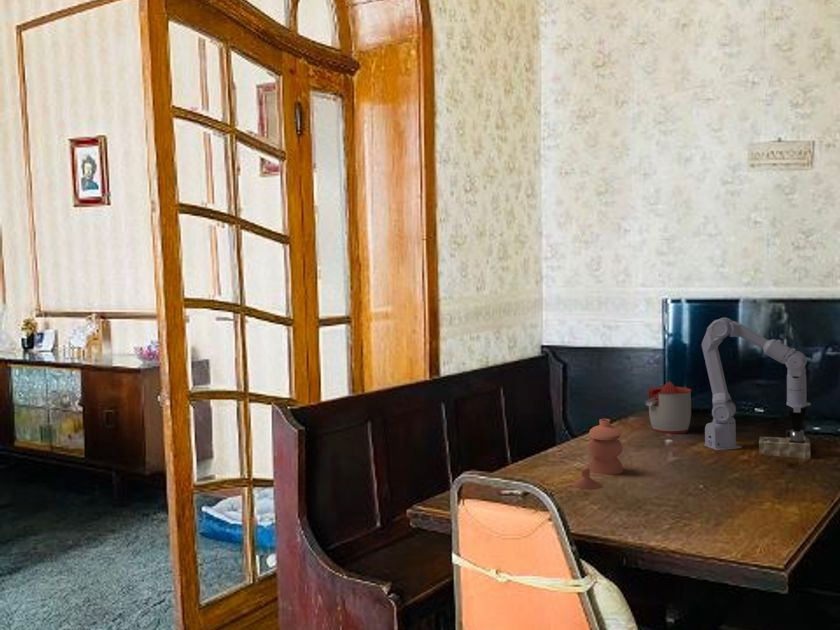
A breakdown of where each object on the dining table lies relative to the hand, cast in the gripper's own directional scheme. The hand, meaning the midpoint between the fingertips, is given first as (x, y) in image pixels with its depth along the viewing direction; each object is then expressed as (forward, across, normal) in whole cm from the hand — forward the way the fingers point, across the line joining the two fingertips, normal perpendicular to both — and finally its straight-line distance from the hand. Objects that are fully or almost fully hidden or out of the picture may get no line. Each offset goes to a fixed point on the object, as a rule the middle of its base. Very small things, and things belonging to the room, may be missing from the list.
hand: (796, 430), depth 254 cm
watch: (+6, +16, +1) cm, 17 cm away
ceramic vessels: (+9, -60, +54) cm, 81 cm away
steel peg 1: (+9, 0, +8) cm, 11 cm away
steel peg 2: (+5, 0, 0) cm, 5 cm away
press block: (+9, 0, +4) cm, 9 cm away
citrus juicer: (+9, +23, +43) cm, 50 cm away
